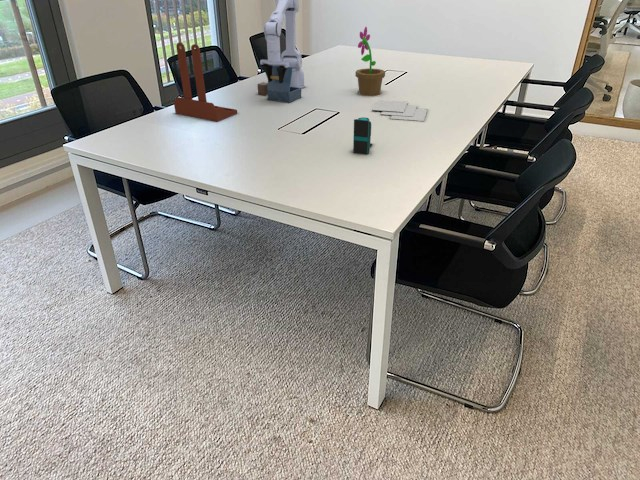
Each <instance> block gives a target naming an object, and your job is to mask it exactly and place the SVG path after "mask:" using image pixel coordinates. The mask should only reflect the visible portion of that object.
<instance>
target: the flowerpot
mask: <svg viewBox="0 0 640 480" xmlns="http://www.w3.org/2000/svg"><path fill="white" fill-rule="evenodd" d="M359 38H360V40H361V41H359V42H358V44H357V48H358V49H360V54H361V56H362V57H361V59H360V60H361V61H363V62H365V63H368V62H369V67H367V68H360V69H357V70H356V71H355V77H356V78H357V86H358V94H360V95H361V96H367V97H375V96H378V95H380V94H381V89H382V83H383V79H384V78H385V77H386V71H385V70H383V69H381V68H372V67H374V66H376V64H377V62H376V60H373V59H372V58H373V56H372V49H371V46H370V44H369V42H368V41H369V40H371V39H370V38H371V34H368V27H367V26H365V27H364V28H363V32H362V31H359ZM365 50H366V51H368V54H365ZM364 54H365V55H364ZM363 55H364V56H363Z"/></svg>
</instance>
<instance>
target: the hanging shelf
mask: <svg viewBox="0 0 640 480" xmlns="http://www.w3.org/2000/svg"><path fill="white" fill-rule="evenodd" d="M185 47H186V46H185V45H184V44H183V42H177V43H176V45H175V48H176V53H177V60H178V67H179V73H180V81H181V86H182V93H183V97H180V96H176V97H175V100H174V101H173V107H174V112H175V114H176V115H181V116H186V117H192V118H196V119H202V120H207V121H211V122H217V123H218V122H221V121H223V120H226V119H227V118H230V117H232V116H234V115H237V114H238V109H235V108H229V107H224V106H220V105H219V106H218V105H215V104H214V103H213V102H209V101H208V100H207V94H206V93H207V92H206V86H205V79H204V70H203V63H202V56H201V48H200V46H199V45H198V44H196V43H194V44H191V46H190V51H191V58H192V65H193V70H194V71H193V72H194V81H195V87H196V93H197V99H193V93H192V88H191V87H192V86H191V79H190V72H189V65H188V59H187V53H186V48H185Z"/></svg>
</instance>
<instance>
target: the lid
mask: <svg viewBox="0 0 640 480" xmlns="http://www.w3.org/2000/svg"><path fill="white" fill-rule="evenodd" d="M278 67H279V66H273V68H272V75H271V76H270V78H271V79H272V81H271V82H268V81H267V83H268V85H267V89H270V90H277V91H283V92H290V84H291V77H292V70H293V68H292V67H287V70H286V72H285V75H284V79H283V83H279V76H278V71H277V68H278Z"/></svg>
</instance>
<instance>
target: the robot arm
mask: <svg viewBox="0 0 640 480" xmlns="http://www.w3.org/2000/svg"><path fill="white" fill-rule="evenodd" d="M275 5H276V7H275V10H274V11H272V13H271V15H270V17H269V19H268V21H266V23H264V25H263V35H264V38H265V41H266V48H267V49H266V50H267V51H266V52H267V53H266V54H267V59H260V61H259V62H260V66H261V65H262V67H261V68H262V69H263V72H264V73H265V75H266V79H267V83H268V82H271V81H272V79H271V78H270V76H271V75H272V68H273V66H279V67H278V68H277V71H278V76H279V83H283V79H284V75H285V72H286V70H287V67H292V68H293V70H292V77H291V84H290V87H297V88H301V89H303V88H306V86H305V72H304V70H303V69H302V67H303V58H302V53H301V52H300V51H299V50H298V49H296V47H297V46H296V42H297V41H296V39H297V38H296V15H297V14H296V13H299V10H300V0H275ZM284 19H285V20H284ZM284 21H285V50H283V51H282V52H281V41H280V40H281V39H280V36H281V34H282V24H283V22H284Z"/></svg>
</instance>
